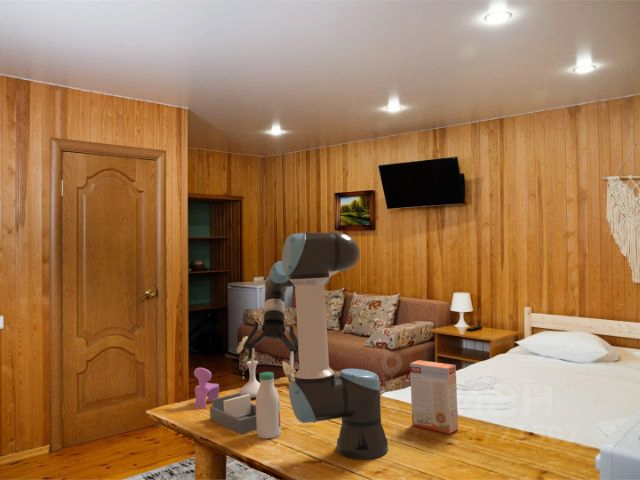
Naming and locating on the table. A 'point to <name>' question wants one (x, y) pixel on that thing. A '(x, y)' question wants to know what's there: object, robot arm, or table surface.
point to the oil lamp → (288, 372)
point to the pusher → (238, 406)
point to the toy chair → (204, 388)
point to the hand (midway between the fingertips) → (271, 369)
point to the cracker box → (434, 396)
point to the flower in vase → (252, 384)
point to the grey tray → (230, 421)
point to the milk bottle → (267, 408)
